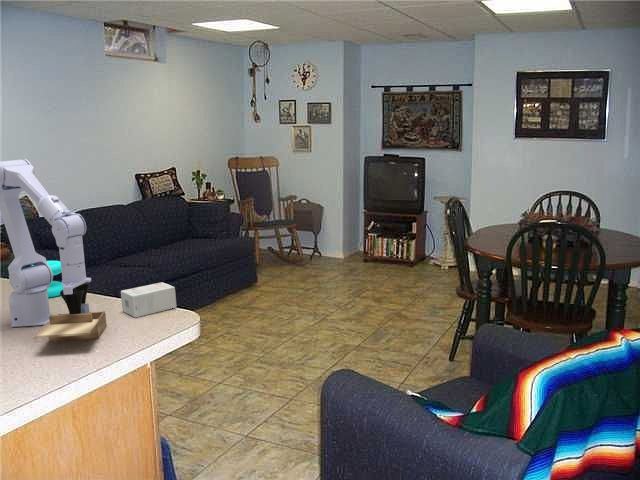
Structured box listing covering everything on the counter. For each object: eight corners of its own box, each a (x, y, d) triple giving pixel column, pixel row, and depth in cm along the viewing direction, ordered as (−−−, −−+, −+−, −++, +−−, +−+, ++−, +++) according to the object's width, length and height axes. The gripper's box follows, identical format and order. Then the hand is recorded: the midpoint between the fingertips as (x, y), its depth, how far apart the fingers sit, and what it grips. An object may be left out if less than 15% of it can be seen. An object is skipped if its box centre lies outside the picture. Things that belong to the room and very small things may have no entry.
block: (70, 323, 171) (68, 308, 170) (74, 318, 175) (72, 304, 174) (86, 322, 172) (85, 307, 171) (89, 318, 176) (88, 303, 175)
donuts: (22, 265, 206) (47, 258, 215) (25, 297, 208) (50, 288, 217) (46, 268, 202) (71, 261, 210) (49, 300, 204) (74, 291, 212)
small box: (134, 318, 184) (177, 308, 192) (132, 296, 183) (175, 286, 191) (122, 312, 190) (164, 302, 199) (120, 290, 189) (162, 281, 197)
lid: (35, 337, 157) (34, 327, 157) (47, 323, 168) (46, 314, 167) (89, 334, 159) (88, 324, 158) (98, 320, 169) (97, 311, 168)
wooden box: (49, 341, 167) (47, 326, 167) (59, 328, 177) (58, 313, 176) (98, 338, 169) (97, 323, 168) (106, 325, 178) (105, 311, 178)
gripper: (82, 268, 164) (87, 321, 166) (95, 255, 178) (99, 304, 180) (52, 270, 163) (58, 323, 166) (67, 256, 177) (72, 306, 180)
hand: (77, 314), depth 173 cm, fingers open, 4 cm apart
